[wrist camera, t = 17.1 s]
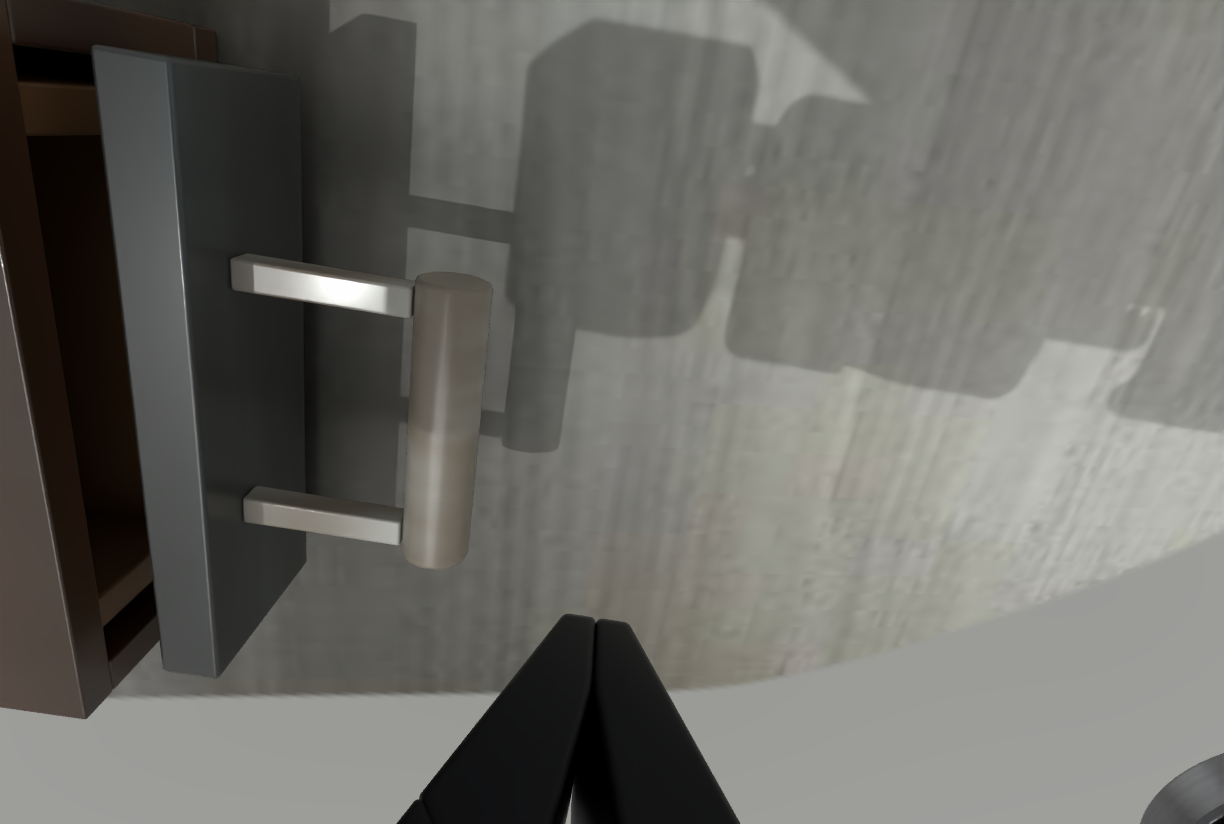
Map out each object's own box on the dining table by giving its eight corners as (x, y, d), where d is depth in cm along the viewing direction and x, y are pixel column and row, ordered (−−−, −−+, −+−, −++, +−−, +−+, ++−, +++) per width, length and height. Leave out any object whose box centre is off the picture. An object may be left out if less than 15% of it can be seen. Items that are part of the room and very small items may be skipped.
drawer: (531, 116, 14) (491, 112, 10) (481, 588, 19) (440, 712, 15) (-334, -34, 14) (-733, -100, 10) (-169, 489, 18) (-394, 592, 14)
